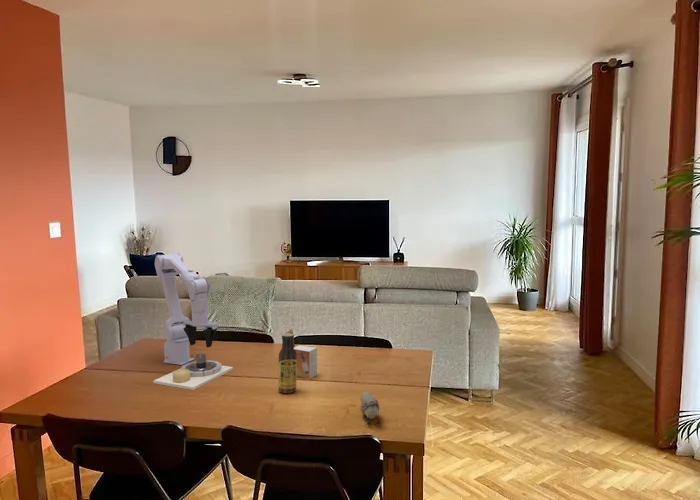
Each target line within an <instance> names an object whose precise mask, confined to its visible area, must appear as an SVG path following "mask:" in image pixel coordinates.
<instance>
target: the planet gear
mask: <svg viewBox="0 0 700 500" xmlns="http://www.w3.org/2000/svg"><path fill="white" fill-rule="evenodd" d="M195 359H196V360H195V361H196V363H197V365H192V366H191V368H188V370H190V371H193V372H198V371H207V370H211V369H213V368H215V365H211V363H208V364H206V360H207V354H206V353H196V355H195Z"/></svg>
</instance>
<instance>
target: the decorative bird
mask: <svg viewBox="0 0 700 500" xmlns="http://www.w3.org/2000/svg"><path fill="white" fill-rule="evenodd" d="M360 401H361V405H360V411H361V414H363V415H366V418H367V423H366V424H365V427H366V426H368V427H370V426H371V427H373V426H372V424H371V421H370V419H374V418H376V419H377V421H376V422H375V424H374V426H376V425H377V426H379V425H380V426H382V423H381V422H380V419H379V411H380V404H379V400H378V399H376V398H375V397H374V396H373V395H372V394H371V392H369V391H363V392H362V393H361V396H360Z"/></svg>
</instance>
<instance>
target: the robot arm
mask: <svg viewBox="0 0 700 500" xmlns="http://www.w3.org/2000/svg"><path fill="white" fill-rule="evenodd" d="M154 268H155V271H156V275H157V277H158V278H160V279H161V285H162V288H163V293H164V297H165V302H166V305H167V310H168V314H169V318H168V319H167V320H166V321H165V322H164V324H163V325H164V336H165V338H166V341H165V342H164V346H163V350H164V351H163V352H164V354H163V355H164V360H163V361H162V362H163V363H165V364H172V365H180V366H183V365H185V364H188V363H190V362H193V361H194V360H195V358H194V357H190V346H193V345H196V341H197V340H196V339H197V336H196V335H197V330H198V329H197V328H203V330H202V331H203V334H204V337H205V345H206V348H210V347H212V345H213V340H214V337H215V335H216V332H217V330H218V323H217V322H213V321H209V320H208V318H209V316H208V296H207V294H208V293H209V291H210V284H209V280H208V279H207V277H200V276H199V275H198V274H197V273H196V272H195V270H194V269H193V268H188V267H187V266H186V264H185V263H184V258H183V255H182V254H181V253H180V252H177V253H173V254H172V253H170V254H157V255H156V256H155V259H154ZM177 275H179V276H180V280H181V282H182V283H183V284H185V286H186V287H187V292H188V294H189V295H188V296H189V299H190V306H191V319H190V318H189V317H188V316H185V315H184V314H183V311H182V308H181V307H182V306H181V303H180V297H179V294H178V289H177V285H176V280H175V277H176V276H177Z"/></svg>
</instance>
